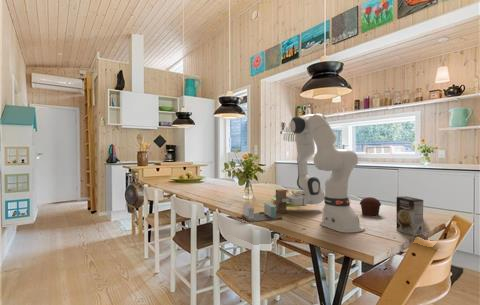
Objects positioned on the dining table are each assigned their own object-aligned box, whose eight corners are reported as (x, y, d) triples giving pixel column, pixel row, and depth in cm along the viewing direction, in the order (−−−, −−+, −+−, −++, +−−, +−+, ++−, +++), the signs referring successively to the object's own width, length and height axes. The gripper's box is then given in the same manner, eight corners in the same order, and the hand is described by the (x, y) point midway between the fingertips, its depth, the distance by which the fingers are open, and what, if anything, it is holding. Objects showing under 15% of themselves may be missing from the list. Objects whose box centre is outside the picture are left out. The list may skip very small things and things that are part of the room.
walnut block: (286, 212, 165) (286, 190, 165) (278, 213, 164) (278, 190, 164) (283, 210, 170) (283, 189, 170) (275, 211, 169) (275, 189, 169)
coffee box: (395, 230, 128) (395, 196, 128) (405, 228, 130) (405, 195, 130) (413, 236, 119) (413, 200, 119) (423, 234, 121) (423, 199, 121)
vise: (282, 219, 150) (282, 207, 150) (248, 222, 146) (248, 209, 146) (272, 212, 166) (272, 201, 166) (241, 215, 161) (241, 203, 161)
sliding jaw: (275, 217, 151) (275, 206, 151) (270, 218, 151) (270, 206, 151) (268, 212, 163) (268, 202, 163) (264, 213, 162) (263, 202, 162)
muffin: (367, 217, 151) (367, 200, 151) (355, 213, 162) (355, 196, 162) (385, 216, 154) (385, 199, 154) (372, 211, 165) (372, 195, 165)
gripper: (292, 190, 180) (273, 191, 177) (307, 196, 160) (286, 197, 157) (293, 200, 180) (273, 201, 177) (307, 206, 160) (286, 207, 157)
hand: (279, 199), depth 167 cm, fingers closed on walnut block, 5 cm apart
